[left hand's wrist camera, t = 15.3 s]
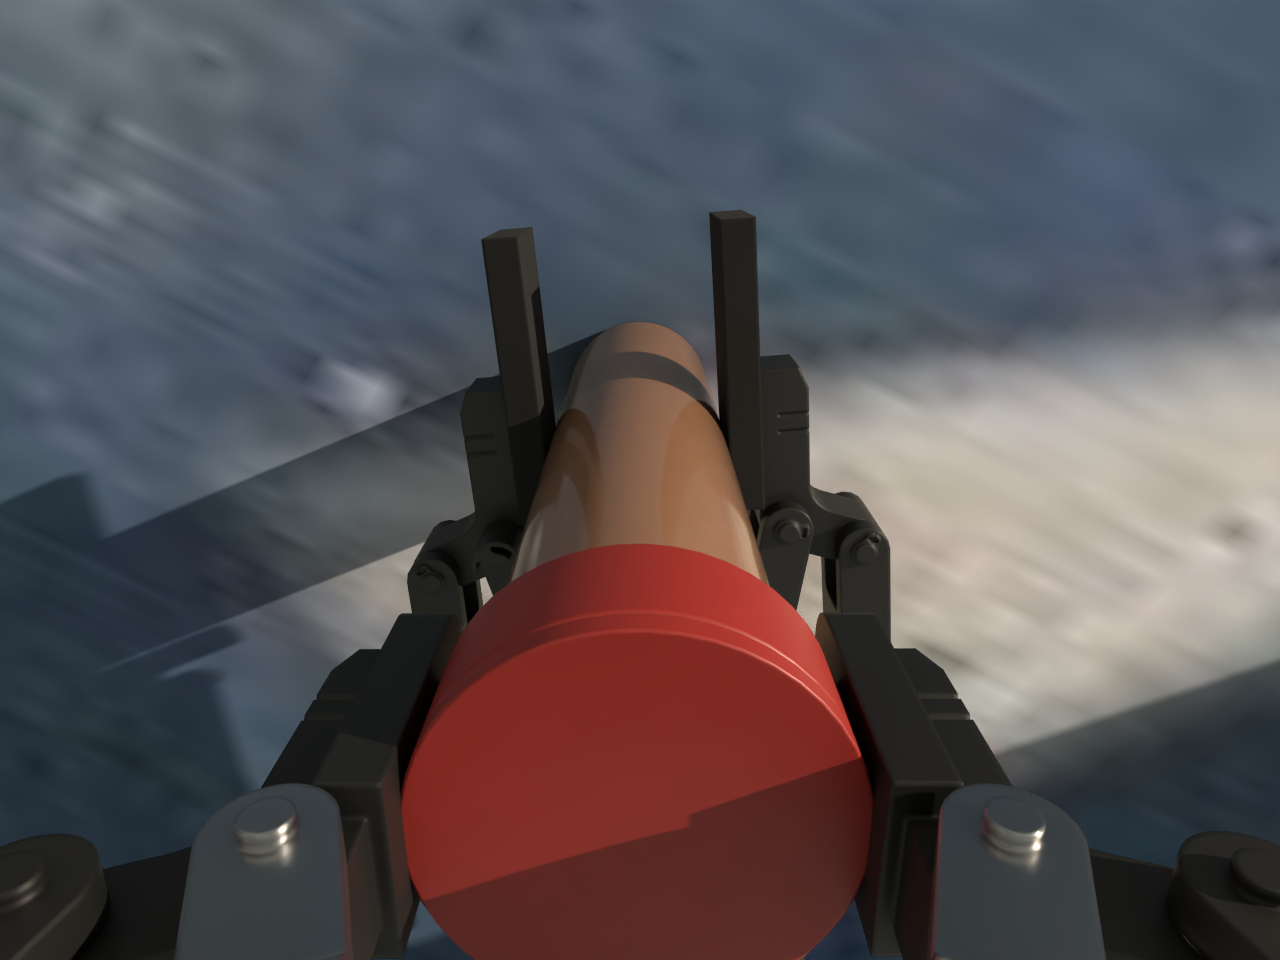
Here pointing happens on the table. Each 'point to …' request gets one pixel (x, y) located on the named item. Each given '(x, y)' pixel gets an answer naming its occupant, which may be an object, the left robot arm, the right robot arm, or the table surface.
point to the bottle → (638, 458)
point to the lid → (637, 769)
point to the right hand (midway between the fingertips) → (619, 226)
